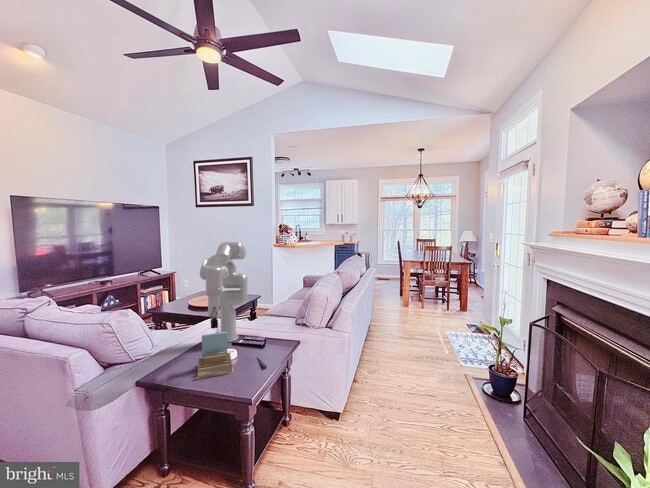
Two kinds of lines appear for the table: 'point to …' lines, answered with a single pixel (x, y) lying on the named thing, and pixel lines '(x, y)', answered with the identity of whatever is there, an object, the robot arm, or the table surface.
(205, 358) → the offcut
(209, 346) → the tall sheet
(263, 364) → the phone
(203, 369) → the rack
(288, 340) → the table surface
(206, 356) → the offcut
